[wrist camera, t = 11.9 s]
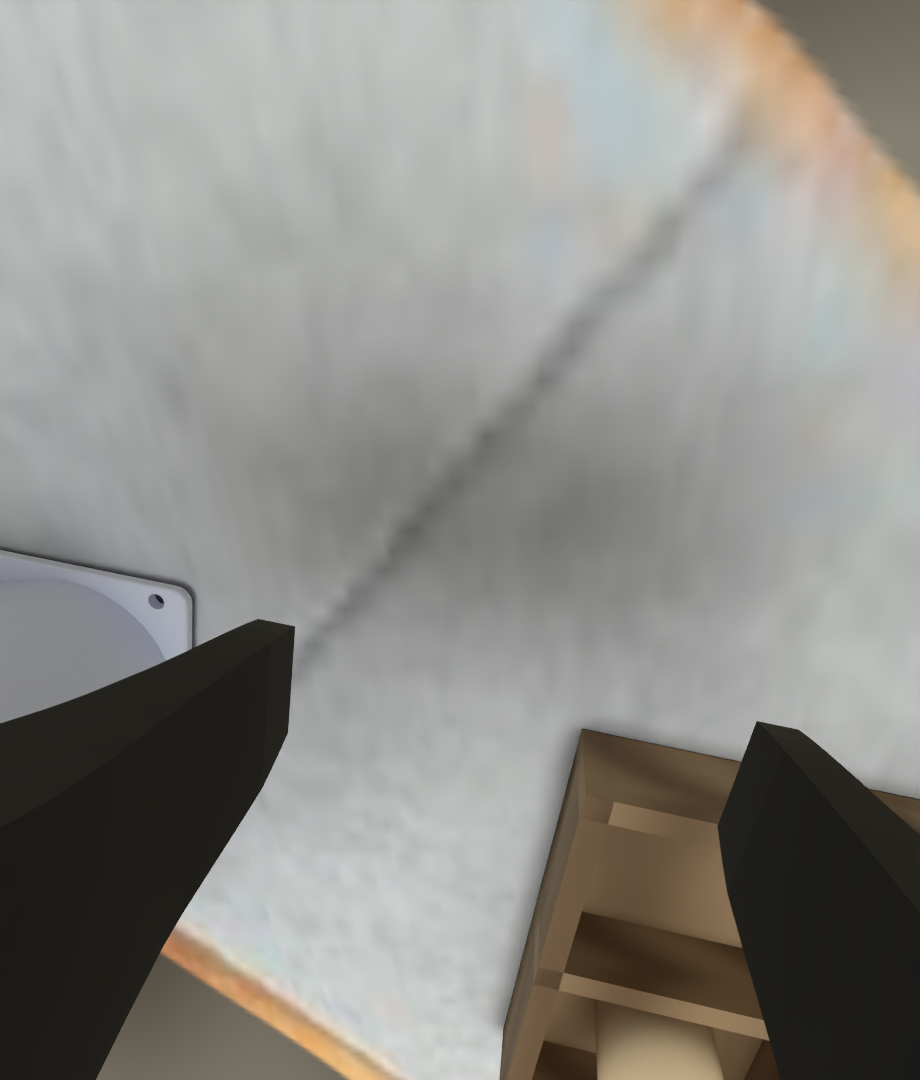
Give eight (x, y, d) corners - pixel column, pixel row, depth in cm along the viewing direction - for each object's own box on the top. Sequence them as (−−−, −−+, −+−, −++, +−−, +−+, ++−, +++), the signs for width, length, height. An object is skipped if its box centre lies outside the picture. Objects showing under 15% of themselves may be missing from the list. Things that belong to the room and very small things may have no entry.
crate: (503, 1029, 27) (496, 1115, 24) (581, 729, 21) (585, 795, 19) (989, 1148, 25) (1042, 1254, 22) (1201, 859, 20) (1306, 952, 17)
